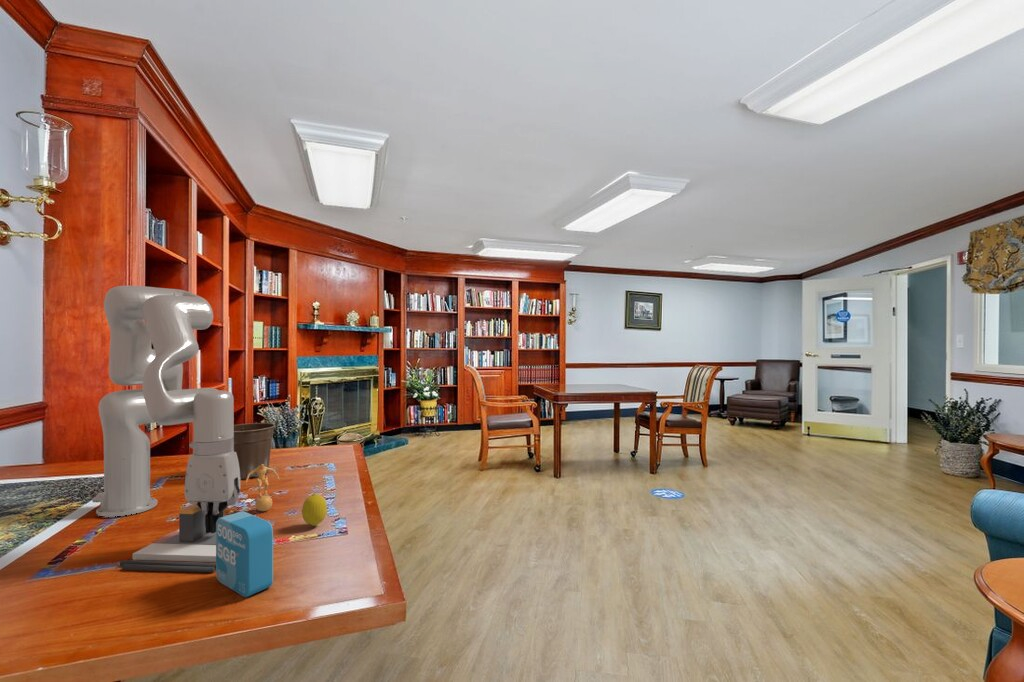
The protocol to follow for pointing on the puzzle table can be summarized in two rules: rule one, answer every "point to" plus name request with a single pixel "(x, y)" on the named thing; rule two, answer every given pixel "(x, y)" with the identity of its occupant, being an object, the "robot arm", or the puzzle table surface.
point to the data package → (244, 553)
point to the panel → (179, 549)
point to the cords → (168, 566)
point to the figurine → (263, 501)
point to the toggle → (191, 523)
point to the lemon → (314, 509)
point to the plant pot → (252, 446)
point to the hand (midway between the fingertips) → (214, 530)
